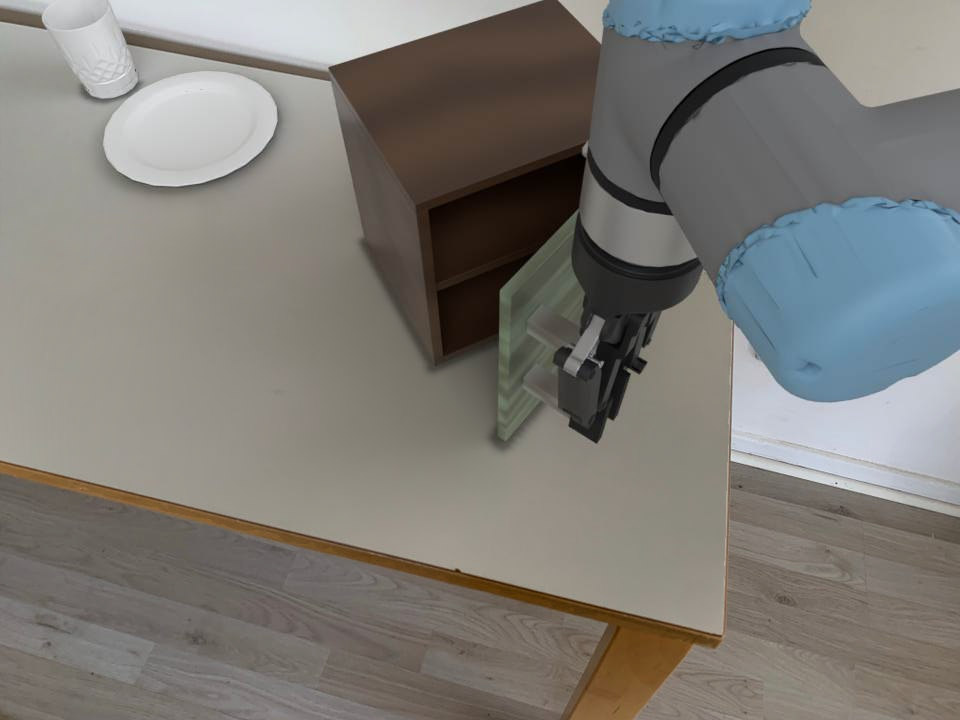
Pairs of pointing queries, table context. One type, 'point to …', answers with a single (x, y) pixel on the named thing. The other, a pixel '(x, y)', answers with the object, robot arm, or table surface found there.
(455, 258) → the cupboard
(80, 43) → the white cup
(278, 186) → the table surface
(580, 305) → the cupboard door
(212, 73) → the plate
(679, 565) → the table surface
